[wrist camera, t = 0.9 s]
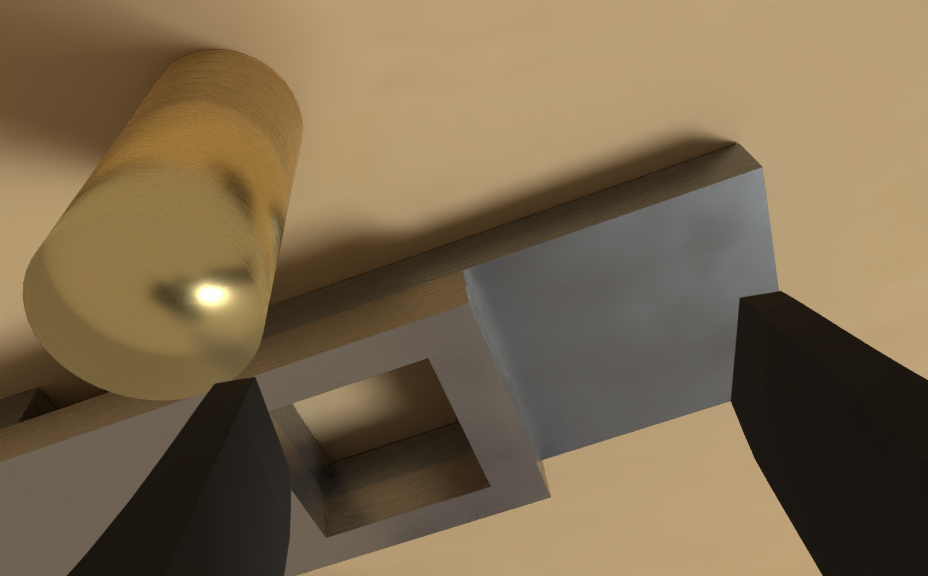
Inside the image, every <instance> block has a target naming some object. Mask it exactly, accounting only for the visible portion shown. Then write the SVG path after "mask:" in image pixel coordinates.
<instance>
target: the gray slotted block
mask: <svg viewBox="0 0 928 576" xmlns="http://www.w3.org/2000/svg"><path fill="white" fill-rule="evenodd" d="M777 291H779V289H778V281H777V274H776V266H775V258H774V251H773V243H772V235H771V228H770V220H769V212H768V205H767V197H766V189H765V182H764V174H763V167H762V166H761V165H760V164H759V163H758V162H757V161H756V160H755V159H754V158H753V157H752V156H751V155H750V154H749V153H748V152H747V151H746V150H745V149H744V148H743V147H742V146H741V145H740V144H739V143H738V144H735V145H732V146H729V147H727V148H724V149H721V150H718V151H715V152H712V153H709V154H707V155H704V156H701V157H698V158H695V159H692V160H689V161H686V162H684V163H681V164H678V165H675V166H672V167H669V168H666V169H663V170H661V171H658V172H655V173H652V174H649V175H646V176H643V177H641V178H638V179H635V180H632V181H629V182H626V183H623V184H620V185H618V186H615V187H612V188H609V189H606V190H603V191H600V192H598V193H595V194H592V195H589V196H586V197H583V198H580V199H577V200H575V201H572V202H569V203H566V204H563V205H560V206H557V207H555V208H552V209H549V210H546V211H543V212H540V213H537V214H534V215H532V216H529V217H526V218H523V219H520V220H517V221H514V222H512V223H509V224H506V225H503V226H500V227H497V228H494V229H491V230H489V231H486V232H483V233H480V234H477V235H474V236H471V237H469V238H466V239H463V240H460V241H457V242H454V243H451V244H448V245H446V246H443V247H440V248H437V249H434V250H431V251H428V252H425V253H423V254H420V255H417V256H414V257H411V258H408V259H405V260H403V261H400V262H397V263H394V264H391V265H388V266H385V267H382V268H380V269H377V270H374V271H371V272H368V273H365V274H362V275H360V276H357V277H354V278H351V279H348V280H345V281H342V282H339V283H337V284H334V285H331V286H328V287H325V288H322V289H319V290H317V291H314V292H311V293H308V294H305V295H302V296H299V297H296V298H294V299H291V300H288V301H285V302H282V303H279V304H276V305H274V306H271V307H268V311H267V316H266V321H265V326H264V331H263V335H262V339H261V343H260V345H259V348H258V350H257V352H256V354H255V356H254V357H253V359H252V360H251V362H250V363H249V365H248V366H247V367H246V368H245V369H244V370H243V371H242V372H241V373H240V374H239V375H238V376H236V377H235V378H234V379H233V380H239V379H245V378H251V377H256V380H257V382H258V385H259V388H260V390H261V393H262V396H263V398H264V401H265V404H266V406H267V409H268V412H269V414H270V417H271V420H272V422H273V425H274V428H275V430H276V433H277V436H278V438H279V441H280V444H281V446H282V449H283V452H284V454H285V457H286V460H287V462H288V465H289V468H290V470H291V520H290V539H289V547H288V554H287V561H286V568H285V574H284V576H296V575H299V574H302V573H306V572H309V571H312V570H315V569H319V568H322V567H325V566H328V565H332V564H335V563H338V562H342V561H345V560H348V559H351V558H355V557H358V556H361V555H364V554H368V553H371V552H374V551H377V550H381V549H384V548H387V547H390V546H394V545H397V544H400V543H403V542H407V541H410V540H413V539H416V538H420V537H423V536H426V535H429V534H433V533H436V532H439V531H443V530H446V529H449V528H452V527H456V526H459V525H462V524H465V523H469V522H472V521H475V520H478V519H482V518H485V517H488V516H491V515H495V514H498V513H501V512H504V511H508V510H511V509H514V508H517V507H521V506H524V505H527V504H531V503H534V502H537V501H540V500H544V499H547V498H550V497H551V495H550V491H549V487H548V483H547V479H546V475H545V470H544V466H543V462H542V460H544V459H547V458H550V457H553V456H556V455H560V454H563V453H566V452H569V451H572V450H576V449H579V448H582V447H585V446H588V445H592V444H595V443H598V442H601V441H604V440H607V439H611V438H614V437H617V436H620V435H623V434H627V433H630V432H633V431H636V430H639V429H643V428H646V427H649V426H652V425H655V424H659V423H662V422H665V421H668V420H671V419H675V418H678V417H681V416H684V415H687V414H691V413H694V412H697V411H700V410H703V409H707V408H710V407H713V406H716V405H719V404H723V403H726V402H729V401H731V391H732V380H733V368H734V357H735V345H736V334H737V323H738V311H739V300H740V297H747V296H753V295H759V294H765V293H771V292H777ZM427 358H428V359H429V361H430V363H431V365H432V367H433V369H434V371H435V373H436V375H437V377H438V379H439V381H440V383H441V385H442V387H443V389H444V392H445V394H446V396H447V398H448V400H449V402H450V404H451V406H452V408H453V410H454V412H455V414H456V416H457V418H458V420H459V422H458V423H455V424H452V425H448V426H445V427H442V428H439V429H436V430H433V431H430V432H427V433H424V434H421V435H417V436H414V437H411V438H408V439H405V440H402V441H399V442H396V443H393V444H389V445H386V446H383V447H380V448H377V449H374V450H371V451H368V452H365V453H362V454H358V455H355V456H352V457H349V458H346V459H343V460H340V461H337V462H334V463H330V461H329V460H328V458H327V457H326V455H325V454H324V452H323V451H322V449H321V448H320V446H319V445H318V443H317V441H316V440H315V438H314V437H313V435H312V434H311V432H310V431H309V429H308V428H307V426H306V425H305V423H304V422H303V420H302V418H301V417H300V415H299V414H298V412H297V411H296V409H295V408H294V406H293V405H292V403H295V402H298V401H301V400H304V399H307V398H310V397H313V396H316V395H319V394H322V393H325V392H328V391H331V390H334V389H337V388H340V387H343V386H346V385H349V384H352V383H355V382H358V381H361V380H364V379H367V378H370V377H373V376H376V375H379V374H382V373H385V372H388V371H391V370H394V369H397V368H400V367H403V366H406V365H409V364H412V363H415V362H418V361H421V360H424V359H427ZM233 380H231V381H233ZM206 394H207V393H205V394H202V395H199V396H195V397H190V398H185V399H177V400H146V399H138V398H132V397H127V396H123V395H119V394H116V393H112V392H108V393H105V394H102V395H99V396H96V397H93V398H91V399H88V400H85V401H82V402H79V403H76V404H73V405H70V406H67V407H64V408H61V409H59V410H57V409H56V407H55V406H54V405H53V404H52V403H51V402H50V401H49V400H48V399H47V397H46V396H45V395H44V394H43V393H42V392H41V391H40V390H39V389H38V388H35V389H33V390H30V391H27V392H24V393H21V394H18V395H15V396H13V397H10V398H7V399H4V400H1V401H0V576H67V575H68V574H69V573H70V571H71V570H72V569H73V568H74V567H75V566H76V565H77V564H78V562H79V561H80V560H81V559H82V558H83V557H84V556H85V554H86V553H87V552H88V551H89V550H90V548H91V547H92V546H93V545H94V544H95V542H96V541H97V540H98V539H99V537H100V536H101V535H102V534H103V532H104V531H105V530H106V529H107V528H108V526H109V525H110V524H111V523H112V521H113V520H114V519H115V518H116V516H117V515H118V514H119V513H120V512H121V510H122V509H123V508H124V507H125V505H126V504H127V503H128V502H129V500H130V499H131V498H132V496H133V495H134V494H135V492H136V491H137V490H138V488H139V487H140V486H141V484H142V483H143V482H144V480H145V479H146V478H147V476H148V475H149V473H150V472H151V471H152V469H153V468H154V467H155V465H156V464H157V463H158V461H159V460H160V459H161V457H162V456H163V455H164V453H165V452H166V450H167V449H168V448H169V446H170V445H171V443H172V442H173V441H174V439H175V438H176V436H177V435H178V434H179V432H180V431H181V429H182V428H183V426H184V425H185V424H186V422H187V421H188V419H189V418H190V417H191V415H192V414H193V412H194V411H195V409H196V408H197V407H198V405H199V404H200V402H201V401H202V400H203V398H204V397H205V396H206Z"/></svg>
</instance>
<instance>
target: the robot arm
mask: <svg viewBox="0 0 928 576" xmlns="http://www.w3.org/2000/svg"><path fill="white" fill-rule="evenodd" d="M731 403H732V405H733V408H734V410H735V412H736V415H737V417H738V420H739V422H740V425H741V427H742V430H743V432H744V435H745V437H746V439H747V442H748V444H749V446H750V449H751V451H752V453H753V455H754V458H755V460H756V462H757V463H758V465H759V467H760V469H761V471H762V472H763V474H764V476H765V478H766V479H767V481H768V483H769V485H770V486H771V488H772V490H773V492H774V493H775V495H776V497H777V498H778V500H779V502H780V504H781V505H782V507H783V509H784V510H785V512H786V514H787V516H788V517H789V519H790V521H791V522H792V524H793V526H794V528H795V529H796V531H797V533H798V534H799V536H800V538H801V539H802V541H803V543H804V545H805V546H806V548H807V550H808V551H809V553H810V555H811V556H812V558H813V560H814V562H815V563H816V565H817V567H818V568H819V570H820V572H821V574H822V575H823V576H928V380H927V379H925V378H923V377H921V376H920V375H918V374H916V373H914V372H913V371H911V370H909V369H908V368H906V367H904V366H902V365H901V364H899V363H897V362H896V361H894V360H892V359H891V358H889V357H887V356H886V355H884V354H882V353H881V352H879V351H877V350H876V349H874V348H873V347H871V346H869V345H868V344H866V343H864V342H863V341H861V340H860V339H858V338H856V337H855V336H853V335H852V334H850V333H848V332H847V331H845V330H844V329H842V328H840V327H839V326H837V325H836V324H834V323H832V322H831V321H829V320H828V319H826V318H824V317H823V316H821V315H820V314H818V313H816V312H815V311H813V310H812V309H810V308H808V307H807V306H805V305H804V304H802V303H800V302H799V301H797V300H795V299H794V298H792V297H790V296H789V295H787V294H785V293H783V292H782V291H777V292H771V293H765V294H759V295H753V296H747V297H740V300H739V311H738V323H737V334H736V345H735V357H734V368H733V380H732V391H731ZM290 520H291V470H290V468H289V465H288V462H287V460H286V457H285V454H284V452H283V449H282V446H281V444H280V441H279V438H278V436H277V433H276V430H275V428H274V425H273V422H272V420H271V417H270V414H269V412H268V409H267V406H266V404H265V401H264V398H263V396H262V393H261V390H260V388H259V385H258V382H257V380H256V377H251V378H245V379H239V380H233V381H227V382H221V383H215V384H214V385H213V386H212V388H211V389H210V390H209V392H208V393H207V394H206V396H205V397H204V398H203V400H202V401H201V402H200V404H199V405H198V407H197V408H196V409H195V411H194V412H193V414H192V415H191V417H190V418H189V419H188V421H187V422H186V424H185V425H184V426H183V428H182V429H181V431H180V432H179V434H178V435H177V436H176V438H175V439H174V441H173V442H172V443H171V445H170V446H169V448H168V449H167V450H166V452H165V453H164V455H163V456H162V457H161V459H160V460H159V461H158V463H157V464H156V465H155V467H154V468H153V469H152V471H151V472H150V473H149V475H148V476H147V478H146V479H145V480H144V482H143V483H142V484H141V486H140V487H139V488H138V490H137V491H136V492H135V494H134V495H133V496H132V498H131V499H130V500H129V502H128V503H127V504H126V505H125V507H124V508H123V509H122V510H121V512H120V513H119V514H118V515H117V516H116V518H115V519H114V520H113V521H112V523H111V524H110V525H109V526H108V528H107V529H106V530H105V531H104V532H103V534H102V535H101V536H100V537H99V539H98V540H97V541H96V542H95V544H94V545H93V546H92V547H91V548H90V550H89V551H88V552H87V553H86V554H85V556H84V557H83V558H82V559H81V560H80V561H79V562H78V564H77V565H76V566H75V567H74V568H73V569H72V570H71V571H70V573H69V574H68V575H67V576H284V574H285V568H286V561H287V554H288V547H289V539H290Z"/></svg>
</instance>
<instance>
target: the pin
mask: <svg viewBox="0 0 928 576" xmlns="http://www.w3.org/2000/svg"><path fill="white" fill-rule="evenodd" d="M302 132H303V127H302V117H301V112H300V109H299V106H298V103H297V101H296V99H295V97H294V95H293V93H292V91H291V90H290V88H289V87H288V85H287V84H286V83H285V82H284V81H283V79H282V78H281V77H280V76H279V75H278V74H277V73H276V72H275V71H273V70H272V69H271V68H269V67H268V66H267V65H265V64H264V63H262V62H260V61H258V60H257V59H255V58H252V57H250V56H248V55H245V54H242V53H238V52H235V51H229V50H216V49H214V50H204V51H199V52H195V53H192V54H189V55H187V56H184V57H183V58H181V59H179V60H177V61H176V62H174V63H173V64H172V65H171V66H169V67H168V68H167V69H166V70H165V71H164V73H163V74H162V75H161V76H160V78H159V79H158V81H157V82H156V84H155V85H154V86H153V88H152V89H151V91H150V92H149V93H148V95H147V96H146V98H145V99H144V100H143V102H142V103H141V105H140V106H139V108H138V109H137V110H136V112H135V113H134V115H133V116H132V117H131V119H130V120H129V122H128V123H127V125H126V126H125V127H124V129H123V130H122V132H121V133H120V134H119V136H118V137H117V139H116V140H115V141H114V143H113V144H112V146H111V147H110V149H109V150H108V151H107V153H106V154H105V156H104V157H103V158H102V160H101V161H100V163H99V164H98V165H97V167H96V168H95V170H94V171H93V173H92V174H91V175H90V177H89V178H88V180H87V181H86V182H85V184H84V185H83V187H82V188H81V190H80V191H79V192H78V194H77V195H76V197H75V198H74V199H73V201H72V202H71V204H70V205H69V206H68V208H67V209H66V211H65V212H64V214H63V215H62V216H61V218H60V219H59V221H58V222H57V223H56V225H55V226H54V228H53V229H52V230H51V232H50V233H49V235H48V236H47V238H46V239H45V240H44V242H43V243H42V245H41V246H40V247H39V249H38V250H37V252H36V253H35V255H34V256H33V258H32V259H31V261H30V264H29V266H28V268H27V270H26V274H25V278H24V282H23V301H24V308H25V312H26V315H27V319H28V321H29V324H30V326H31V328H32V330H33V332H34V334H35V335H36V337H37V338H38V340H39V342H40V343H41V344H42V346H43V347H44V348H45V349H46V350H47V352H48V353H49V354H50V355H51V356H52V357H53V358H54V359H55V360H56V361H57V362H58V363H60V364H61V365H62V366H63V367H65V368H66V369H67V370H69V371H70V372H71V373H73V374H74V375H76V376H78V377H79V378H81V379H83V380H84V381H86V382H88V383H90V384H92V385H94V386H96V387H99V388H101V389H104V390H107V391H109V392H112V393H116V394H119V395H123V396H127V397H132V398H138V399H146V400H177V399H185V398H190V397H195V396H199V395H202V394H205V393H208V392H209V390H210V389H211V388H212V386H213V385H214V384H215V383H221V382H227V381H231V380H233V379H234V378H235V377H236V376H238V375H239V374H240V373H241V372H242V371H243V370H244V369H245V368H246V367H247V366H248V365H249V363H250V362H251V360H252V359H253V357H254V356H255V354H256V352H257V350H258V348H259V345H260V343H261V339H262V335H263V331H264V326H265V321H266V316H267V311H268V306H269V301H270V296H271V291H272V286H273V281H274V276H275V271H276V266H277V261H278V256H279V251H280V246H281V241H282V236H283V231H284V226H285V221H286V216H287V211H288V206H289V201H290V196H291V191H292V186H293V181H294V176H295V171H296V166H297V161H298V156H299V151H300V146H301V141H302Z"/></svg>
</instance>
